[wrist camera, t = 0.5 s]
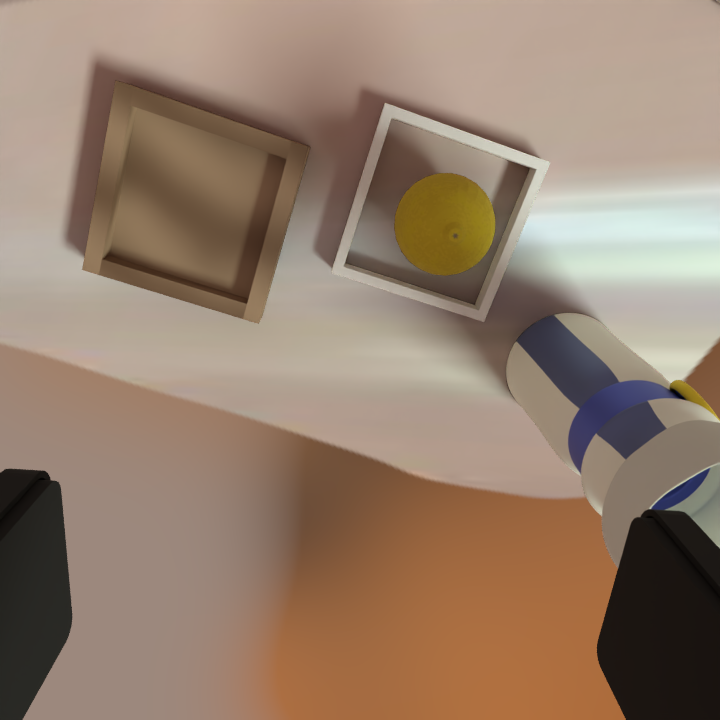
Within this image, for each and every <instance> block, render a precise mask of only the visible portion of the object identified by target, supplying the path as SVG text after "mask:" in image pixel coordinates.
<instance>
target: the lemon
mask: <svg viewBox="0 0 720 720" xmlns="http://www.w3.org/2000/svg"><path fill="white" fill-rule="evenodd" d="M394 229H395V235H396V240H397V242H398V245H399V247H400V249H401V251H402V253H403V254H404V255H405V256H406V258H407V259H408V260H409V261H410V262H411V263H412V264H413V265H415V266H416V267H418V268H419V269H421V270H423V271H426V272H428V273H431V274H436V275H444V276H446V275H453V274H458V273H461V272H464V271H466V270H469V269H470V268H471V267H473V266H474V265H476V264H477V263H479V261H480V260H481V259H482V258H483V257H484V256H485V255H486V253H487V251H488V250H489V248H490V246H491V244H492V241H493V237H494V234H495V215H494V211H493V207H492V204H491V202H490V200H489V198H488V196H487V195H486V193H485V192H484V191H483V190H482V189H481V188H480V187H479V186H478V185H477V184H476V183H475V182H473V181H471V180H469V179H468V178H466V177H464V176H460V175H457V174H453V173H438V174H435V175H431V176H427V177H425V178H423V179H422V180H420V181H418V182H416V183H415V184H414V185H413V186H412V187H411V188H409V189H408V190H407V191H406V193H405V194H404V196H403V197H402V199H401V201H400V202H399V205H398V208H397V211H396V214H395V224H394Z"/></svg>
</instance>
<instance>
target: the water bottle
mask: <svg viewBox="0 0 720 720" xmlns="http://www.w3.org/2000/svg"><path fill="white" fill-rule="evenodd" d="M506 378H507V383H508V387H509V389H510V392H511V394H512V395H513V397H514V398H515V400H516V401H517V402H518V403H519V405H520V406H521V407H522V408H523V409H524V411H525V412H526V413H527V414H528V416H529V417H530V418H531V419H532V421H533V422H534V423H535V425H536V426H537V427H538V429H539V430H540V431H541V433H542V434H543V436H544V437H545V439H546V440H547V442H548V443H549V445H550V446H551V447H552V449H553V450H554V451H555V453H556V454H557V455H558V457H559V458H560V459H561V460H562V461H563V462H564V463H565V464H566V465H567V466H568V467H569V468H570V469H571V470H573V471H574V472H576V473H577V474H578V475H580V476H581V481H582V487H583V490H584V493H585V495H586V498H587V499H588V501H589V503H590V504H591V505H592V507H593V508H594V509H595V510H596V511H597V512H598V513H599V514H600V515H601V516H602V531H603V537H604V541H605V544H606V547H607V550H608V552H609V554H610V556H611V558H612V560H613V562H614V563H615V565H616V566H617V567H619V564H620V560H621V556H622V553H623V549H624V546H625V542H626V538H627V535H628V531H629V528H630V525H631V522H632V520H633V519H634V518H636V517H641V514H642V513H643V512H644V511H645V510H648V509H657V510H673V511H682V512H685V513H686V514H688V515H689V516H690V517H691V518H692V519H693V520H694V521H695V523H696V524H697V525H698V526H699V527H700V528H701V529H702V530H703V531H704V532H705V533H706V534H707V535H708V537H709V538H710V539H711V540H712V541H713V542H714V543H715V544H716V545H717V546H718V547H719V548H720V420H719V418H718V417H717V415H716V414H715V413H714V411H713V410H712V409H711V408H710V406H709V405H708V404H707V403H706V402H705V400H704V399H703V398H702V397H701V396H700V395H699V394H698V393H697V392H696V391H695V390H694V389H693V388H692V387H690V386H689V385H688V384H687V383H685V382H683V381H681V380H676V381H673V382H672V383H671V384H670V382H669V381H668V380H667V379H666V378H665V377H664V376H663V375H662V374H661V373H659V372H658V371H657V370H656V369H655V368H653V367H652V366H651V365H650V364H648V363H647V362H646V361H645V360H643V359H642V358H641V357H639V356H638V355H637V354H636V353H634V352H633V351H632V350H631V349H630V348H628V347H627V346H626V345H625V344H624V343H623V342H622V341H620V340H619V339H618V338H617V337H616V336H615V335H614V334H613V333H612V332H611V331H610V330H609V329H607V328H606V327H605V326H604V325H603V324H602V323H600V322H599V321H597V320H596V319H594V318H592V317H589V316H586V315H583V314H578V313H561V314H555V315H552V316H548V317H546V318H543V319H541V320H539V321H538V322H536V323H534V324H533V325H531V326H530V327H529V328H528V329H526V330H525V331H524V332H523V333H522V334H521V335H520V337H519V338H518V339H517V341H516V342H515V344H514V345H513V347H512V349H511V351H510V354H509V357H508V360H507V366H506Z"/></svg>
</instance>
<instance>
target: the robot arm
mask: <svg viewBox="0 0 720 720" xmlns="http://www.w3.org/2000/svg"><path fill="white" fill-rule="evenodd" d="M716 1H717V2H718V3H720V0H716ZM71 624H72V607H71V596H70V584H69V573H68V562H67V551H66V540H65V528H64V517H63V506H62V495H61V487H60V484H59V482H57V481H51V480H50V477H49V475H48V473H47V472H45V471H37V470H23V469H5V470H4V471H2V472H1V473H0V720H22V719H23V718H24V716H25V714H26V712H27V710H28V709H29V707H30V705H31V703H32V701H33V700H34V698H35V696H36V694H37V692H38V691H39V689H40V687H41V685H42V684H43V682H44V680H45V678H46V676H47V675H48V673H49V671H50V669H51V668H52V666H53V664H54V662H55V660H56V659H57V657H58V655H59V653H60V652H61V650H62V648H63V646H64V644H65V643H66V640H67V638H68V636H69V633H70V629H71ZM597 656H598V661H599V664H600V667H601V669H602V671H603V673H604V675H605V677H606V680H607V682H608V684H609V686H610V688H611V690H612V692H613V694H614V696H615V698H616V700H617V702H618V704H619V706H620V708H621V710H622V712H623V714H624V716H625V718H626V720H720V548H719V547H718V546H717V545H716V544H715V543H714V542H713V541H712V540H711V539H710V538H709V537H708V535H707V534H706V533H705V532H704V531H703V530H702V529H701V528H700V527H699V526H698V525H697V524H696V523H695V521H694V520H693V519H692V518H691V517H690V516H689V515H688V514H686V513H685V512H682V511H673V510H657V509H648V510H645V511H644V512H643V513H642V514H641V517H636V518H634V519H633V520H632V522H631V525H630V528H629V531H628V535H627V538H626V542H625V546H624V549H623V553H622V556H621V560H620V564H619V567H618V571H617V575H616V578H615V582H614V585H613V589H612V592H611V596H610V599H609V603H608V607H607V610H606V614H605V617H604V621H603V625H602V628H601V632H600V635H599V639H598V644H597Z"/></svg>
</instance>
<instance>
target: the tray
mask: <svg viewBox="0 0 720 720" xmlns="http://www.w3.org/2000/svg"><path fill="white" fill-rule="evenodd" d="M309 150H310V146H307V145H304V144H301V143H298V142H295V141H292V140H289V139H286V138H284V137H281V136H278V135H275V134H272V133H269V132H266V131H263V130H260V129H258V128H255V127H252V126H249V125H246V124H243V123H240V122H237V121H234V120H232V119H229V118H226V117H223V116H220V115H217V114H214V113H211V112H208V111H206V110H203V109H200V108H197V107H194V106H191V105H188V104H185V103H182V102H180V101H177V100H174V99H171V98H168V97H165V96H162V95H159V94H156V93H154V92H151V91H148V90H145V89H142V88H139V87H136V86H133V85H130V84H128V83H124V82H120V81H115V87H114V92H113V98H112V104H111V109H110V115H109V121H108V126H107V132H106V138H105V143H104V149H103V155H102V160H101V166H100V172H99V178H98V183H97V189H96V195H95V200H94V206H93V212H92V217H91V223H90V229H89V234H88V240H87V246H86V251H85V257H84V263H83V269H82V270H85V271H88V272H91V273H95V274H98V275H101V276H104V277H108V278H111V279H114V280H117V281H121V282H124V283H127V284H130V285H134V286H137V287H140V288H144V289H147V290H150V291H153V292H157V293H160V294H163V295H166V296H170V297H173V298H176V299H179V300H183V301H186V302H189V303H193V304H196V305H199V306H202V307H206V308H209V309H212V310H215V311H219V312H222V313H225V314H229V315H232V316H235V317H238V318H242V319H245V320H248V321H251V322H255V323H258V324H259V322H260V320H261V318H262V315H263V312H264V308H265V305H266V301H267V298H268V294H269V291H270V287H271V284H272V280H273V277H274V273H275V270H276V266H277V263H278V259H279V256H280V252H281V249H282V245H283V242H284V238H285V235H286V231H287V228H288V224H289V221H290V217H291V214H292V210H293V207H294V203H295V200H296V196H297V193H298V189H299V186H300V182H301V179H302V175H303V172H304V168H305V165H306V161H307V157H308V154H309Z"/></svg>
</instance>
